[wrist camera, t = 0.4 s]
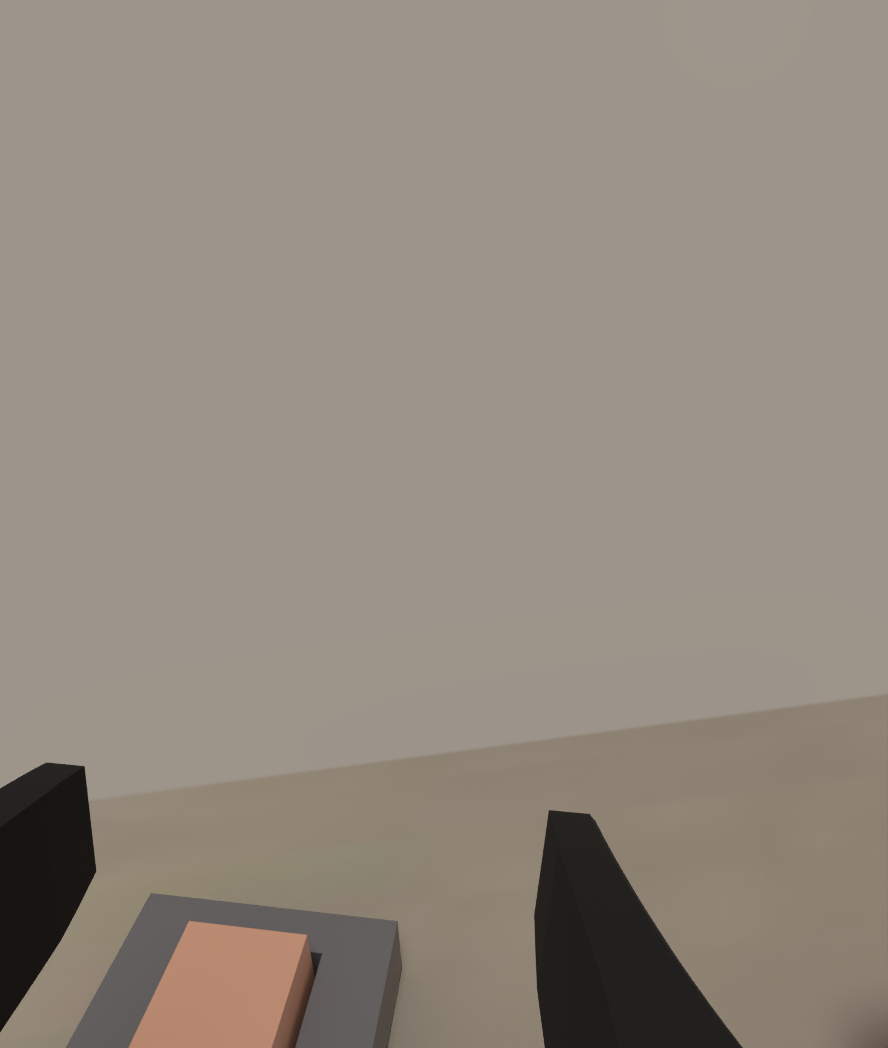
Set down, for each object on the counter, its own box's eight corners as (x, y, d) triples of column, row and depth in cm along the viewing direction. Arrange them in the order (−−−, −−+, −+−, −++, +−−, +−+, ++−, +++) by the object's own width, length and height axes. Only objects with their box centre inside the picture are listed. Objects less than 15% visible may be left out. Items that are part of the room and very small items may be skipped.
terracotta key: (275, 1130, 22) (261, 1080, 20) (144, 1110, 22) (122, 1060, 21) (316, 985, 26) (307, 934, 24) (204, 970, 26) (189, 920, 25)
